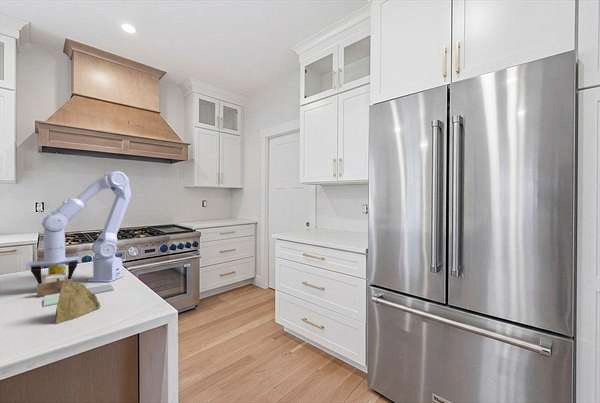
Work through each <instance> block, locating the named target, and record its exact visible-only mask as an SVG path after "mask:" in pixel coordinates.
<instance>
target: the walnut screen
mask: <svg viewBox="0 0 600 403" xmlns="http://www.w3.org/2000/svg"><path fill="white" fill-rule="evenodd" d="M70 281H72V282H73V279H72V278H71V279H68V278H67V279H65V280H61V281H55V282H49V283H46V282H44V283H43V282H42V284H38V283H37V284H36V298H45V296H50V295H55V294H60V290H61V287H62V283H63V282H70Z"/></svg>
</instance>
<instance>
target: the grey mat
mask: <svg viewBox="0 0 600 403" xmlns="http://www.w3.org/2000/svg"><path fill="white" fill-rule="evenodd" d="M86 288H87V287H86ZM87 289H88V290H89V291H90V292H91V293H93V294H95V295H96V294H101V293H106V292H112V291H114V288H113V286H112V284H111V283H110V284H105V285H97V286H92V287H89V288H87Z"/></svg>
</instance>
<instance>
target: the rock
mask: <svg viewBox="0 0 600 403" xmlns="http://www.w3.org/2000/svg"><path fill="white" fill-rule="evenodd" d="M58 296H59V300H58V304H56V310H55V315H54V316H55V317H54V323H55V325H58V324H60V323H63V322H66V321H69V320H73V319H76V318H79V317H81V316H83V315H86V314H88V313H90V312H92V311H95V310H98V309H99V308H101V303H100V301H99V299H98V297H97V296H96V294H93V293H91V292H90V291H89V290H88V289H87V287H86V285H84V284H81V283H79V282H77V281H73V280H72V281H70V282H63V283H62V287H61V290H60V293H59V294H58Z"/></svg>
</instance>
